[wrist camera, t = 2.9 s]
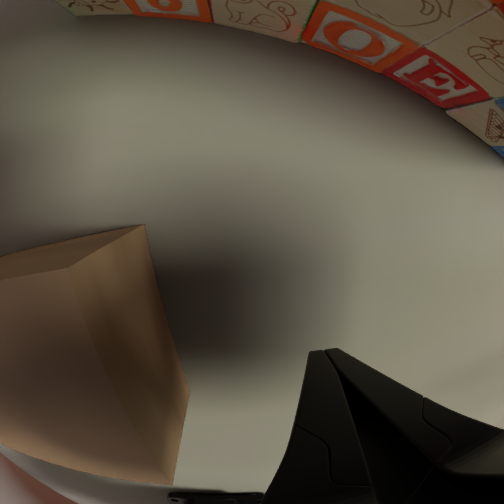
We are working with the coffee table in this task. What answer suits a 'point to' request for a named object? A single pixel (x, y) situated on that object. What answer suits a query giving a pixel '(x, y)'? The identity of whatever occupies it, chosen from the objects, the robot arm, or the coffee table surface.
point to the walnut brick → (90, 358)
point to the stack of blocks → (374, 42)
